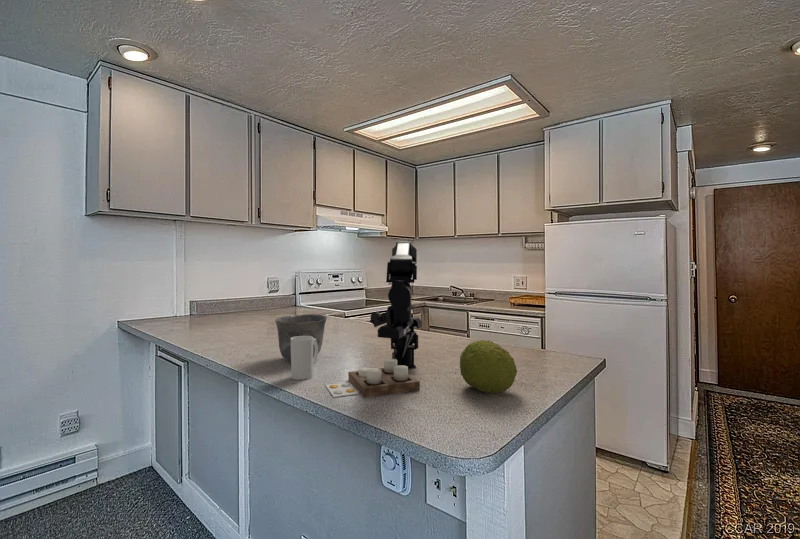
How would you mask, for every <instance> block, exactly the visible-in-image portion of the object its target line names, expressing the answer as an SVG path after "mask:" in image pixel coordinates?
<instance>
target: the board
mask: <svg viewBox="0 0 800 539" xmlns="http://www.w3.org/2000/svg"><path fill="white" fill-rule="evenodd" d="M378 369H381V383H379V384H368V383H367V377H360V378H359V377H358V370H353V371H352V370H351V371H348V373H347V374H348V375H347V376H348V378H347V379H348V382H350V383H351V384H352V385H353V387H354V388H355V389H356V390H357V391H358V392H359V394H360V395H361V396H362V397H363V398H364V399H365V398H373V397H378V396H379V397H380V396H386V395H387V396H388V395H393V394H401V393H407V392H413V391H415V392H416V391H420V389H421V387H420V386H421V384H420V380H418V379H417V378H415V377H414V376H413V375H411V374H410V373H408V379H407V380H404V381H398V380H395V379H394V373H387V372H384V367H380V368H378Z"/></svg>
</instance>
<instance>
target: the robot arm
mask: <svg viewBox="0 0 800 539" xmlns="http://www.w3.org/2000/svg"><path fill="white" fill-rule="evenodd" d="M417 252H418V251H417V248H416V247H415V246H413V245H412V241H409V240H406V241H405V240H402V241H401V240H399V241H396V242H395V246H394V247H393V248H391V257H390V258H389V261H387V265H386V266H387V267H386V280H385V282H386V283H387V284H389V283H390V284H391V286H390V289H389V291H388V294H387V297H388V301H389V303H390V305H389V306H388V307H387V311H385V312H379V311H375V312H371V314H370V320H369V323H371V324H372V325H373V327H374V328H377V327H379V326H380V327H379V328H377V337H378V338H382V339H383V338H385V339H390V350H393V352H391V359H397V366H398V365H404V366H407V367H408V369H412V368H414V369H415V368H417V365H415V351H417V349H419V334H417V331H416V330H415V327H416V329H420V328H423V327H422V326H423V325H422V324H423V321H422V319H421V318H419V317H414V316H412V310H414V304H413V305H412V286H411V283H412V284H415V282H416V280H418V275H417V273H418V265H417V259H418V258H417V257H418V255H417Z"/></svg>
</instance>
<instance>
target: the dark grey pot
mask: <svg viewBox="0 0 800 539" xmlns="http://www.w3.org/2000/svg"><path fill="white" fill-rule="evenodd" d="M326 321H327V315H323V314H314V313H313V314H300V315H299V314H298V315H293V316H292V315H285V316H284V315H283V316H280V317H277V318H275V320H274V322H275V324H276V328H277V337H278V348H279V352H280V355H281V356H282V358H283V359H285V360H287V361H289V362H291V338H292V337H296V336H312V337H313V339H314V338H315V339H316V342H317V345H318V354H319V353H320V352H321V349H322V347H323V340H324V333H325V328H326V327H325V325H326ZM314 354H315V347H314V345H313V357H314Z"/></svg>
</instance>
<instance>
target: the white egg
mask: <svg viewBox="0 0 800 539" xmlns="http://www.w3.org/2000/svg"><path fill="white" fill-rule="evenodd" d="M368 369H371V368H370V367H361V368H359V369H357V371H358V377H359V378H360V377H367V370H368Z"/></svg>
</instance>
